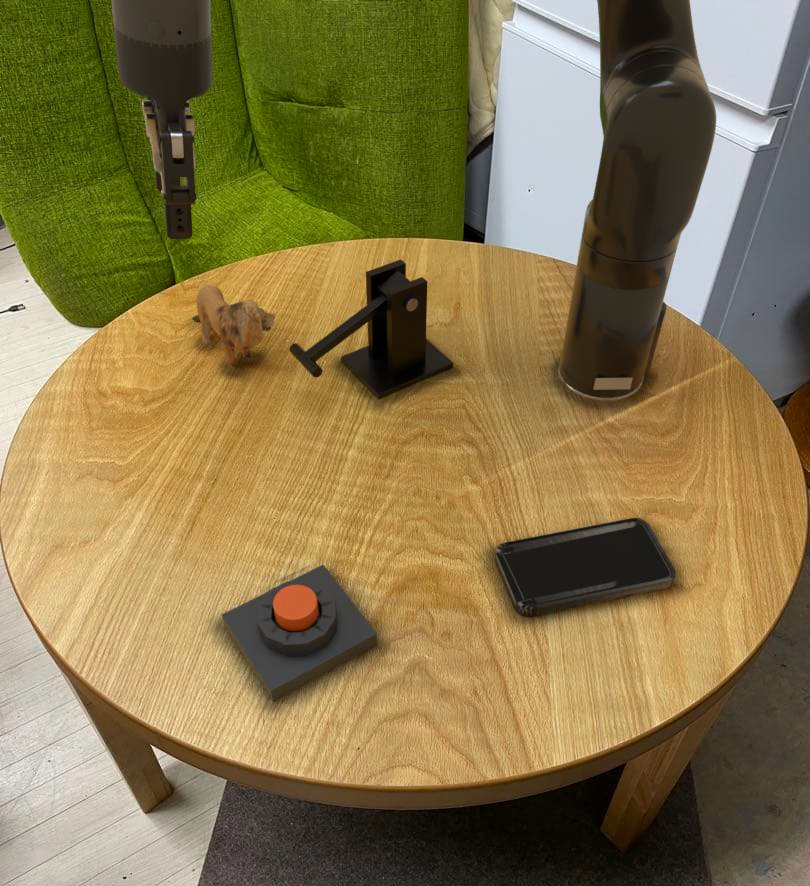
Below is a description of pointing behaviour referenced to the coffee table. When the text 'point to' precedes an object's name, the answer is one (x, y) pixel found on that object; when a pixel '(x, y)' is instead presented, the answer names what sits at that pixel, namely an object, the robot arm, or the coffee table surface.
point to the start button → (295, 608)
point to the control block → (299, 635)
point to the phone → (583, 566)
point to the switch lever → (345, 327)
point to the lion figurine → (232, 322)
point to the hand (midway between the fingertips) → (173, 212)
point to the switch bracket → (396, 337)
